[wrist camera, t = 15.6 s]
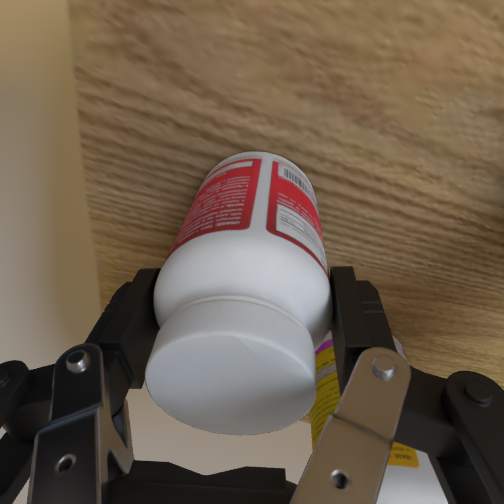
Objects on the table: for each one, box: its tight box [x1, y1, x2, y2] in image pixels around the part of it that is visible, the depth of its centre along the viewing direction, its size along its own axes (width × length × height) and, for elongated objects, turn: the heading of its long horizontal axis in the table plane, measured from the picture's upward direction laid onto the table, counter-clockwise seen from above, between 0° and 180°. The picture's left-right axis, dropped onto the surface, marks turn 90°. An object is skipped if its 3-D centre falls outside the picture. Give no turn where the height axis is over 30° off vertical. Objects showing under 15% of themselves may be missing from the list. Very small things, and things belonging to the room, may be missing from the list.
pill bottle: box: [145, 151, 333, 435], centre depth 14 cm, size 6×6×11 cm
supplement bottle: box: [310, 330, 448, 504], centre depth 19 cm, size 7×7×13 cm
